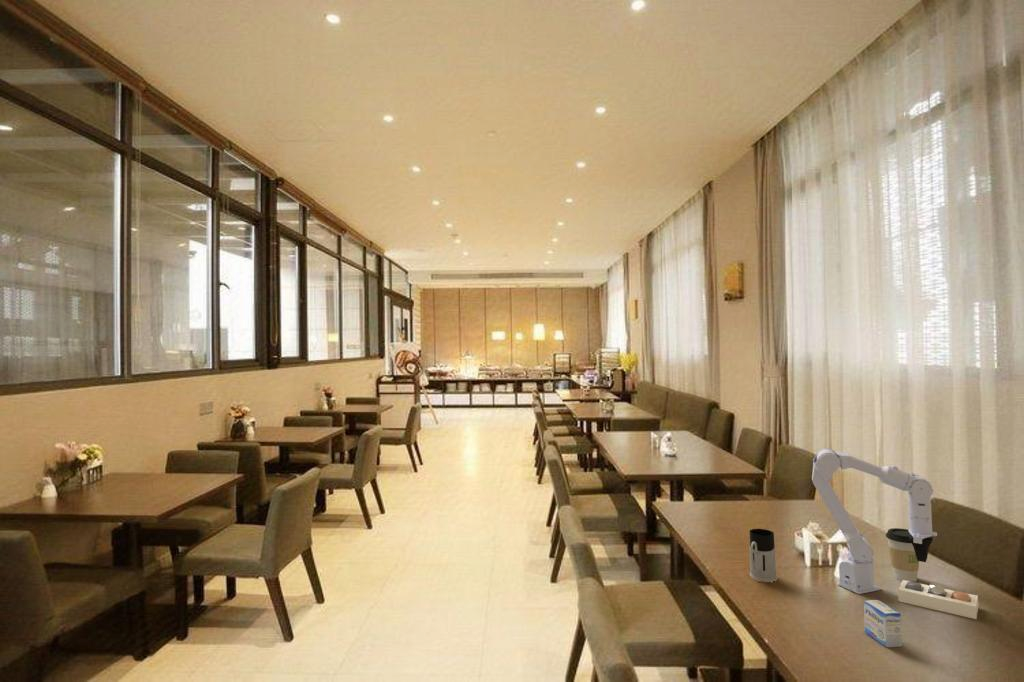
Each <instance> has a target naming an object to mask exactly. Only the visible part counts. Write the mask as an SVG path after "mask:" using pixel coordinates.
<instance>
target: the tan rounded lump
mask: <svg viewBox="0 0 1024 682" xmlns="http://www.w3.org/2000/svg"><path fill="white" fill-rule="evenodd" d="M953 591H954V592H953V599H957V600H961V601H966V602H969V595H968V594H969V593H967V592H964V591H960V590H957V591H956V590H953Z"/></svg>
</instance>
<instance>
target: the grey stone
mask: <svg viewBox="0 0 1024 682" xmlns="http://www.w3.org/2000/svg"><path fill="white" fill-rule="evenodd" d="M919 583H920V582H917V581H916V582H907V589H911V590H915V591H920V592H922V585H921V584H922V583H920V584H919Z"/></svg>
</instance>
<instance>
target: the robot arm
mask: <svg viewBox="0 0 1024 682" xmlns="http://www.w3.org/2000/svg"><path fill="white" fill-rule="evenodd" d="M812 460H813V461H812V464H813V465H812V474H811V481H812V484H813V486H814V487H815V489H816V490H817V492H818V494H819V496H820V497H821V499H822V501H823V502H824V505H825V506H826V508H827V509H828V511H829V513H830V515H831V516H832V517H833V519H834V521H835V523H836V524H837V526H838V528H839V530H840V531H841V533H842V535H843V537H844V539H845V541H846V545H847V546H846V547H847V548H848V549H849V550H848V551H849V552H848V553H847V554H846V558H845V560H843V561H841V562H840V563H839V567H838V570H839V572H838V573H839V574H838V575H839V582H837V585H838V586H840V587H842V588H845V589H846V590H849V591H851V592H854V593H855V594H858V595H862V594H867V593H872V592H876V591H881V590H882V587H880V586H878V585H875V567H874V558H873V557H874V550H873V548H872V546H871V545H870V542H869V540H868V538H867V537H866V536H865V535H863V534H862V533H861V531H859V529H858V528H857V526H856V525H855V523H854V521H853V519H852V518H851V516H850V515H849V512H848V511H847V509H846V507H845V506H844V504H843V502H842V501H841V500H840V498H839V496H838V494H837V493H836V491H835V489H834V488H833V486H832V484H831V480H832V477H833V475H834V474H835V473H836V472H837V471H838V470H839V469H841V470H847V469H855V470H857V471H860V472H863V473H866V474H869V475H871V476H874V477H878V479H879V481H880V483H883V484H885V485H887V486H890V487H893V488H895V489H898V490H900V491H903V492H908V502H907V503H908V505H907V506H908V529H907V530H909V533H910V534H911V536H909V540H910V542H911V543H912V545H913V547H914V550H915V554H916V558H917V560H918V561H919V562H922V563H926V562H927V561H928V556H929V549H930V546H931V544H932V542H933V541H934V537H937V536H938V533H937V531H933V522H932V521H933V519H932V518H933V516H932V502H931V496H932V495H933V493H934V489H933V486H932V484H931V483H930V482H929V481H928V480H927V479H926V478H925V477H923V476H920V475H919V474H916V473H915V472H911V471H910V472H908V471H905V470H903V469H899V468H898V466H896V465H894V464H892V466H891V465H885V466H879V465H877V464H874V463H872V462H870V461H868V460H867V461H866V460H864V459H861V458H859V457H857V456H854V455H851V454H850V453H846V452H843V451H839V450H835V451H834V450H833V449H831V448H829V447H823V448H821V449H819V450H818V451H816V454H815V456H814V458H813V459H812Z"/></svg>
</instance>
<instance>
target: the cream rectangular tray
mask: <svg viewBox="0 0 1024 682" xmlns="http://www.w3.org/2000/svg"><path fill="white" fill-rule="evenodd" d="M907 582H910V581H906V580H902V581H901V583H900V584H899V587H898V589H897V594H898V595H897V596H898V602H899V603H900V602H901V603H905V604H909V605H913V606H918V607H922V608H926V609H931V610H934V611H939V612H942V613H943V612H944V613H948V614H951V615H956V616H961V617H964V618H970V619H973V620H977V618H978V612H979V596H978V595H977V594H976V595H975V594H973V593H972V594H971V593H967V594H968V595H969V602H966V601H961V600H957V599H953V592H954V591H955V590H952V589H948V588H945V597H943V596H938V595H934V594H930V587H929V585H928V584H924V583H920V582H918V583H919V584H921V585H922V592H920V591H915V590H911V589H907Z"/></svg>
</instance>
